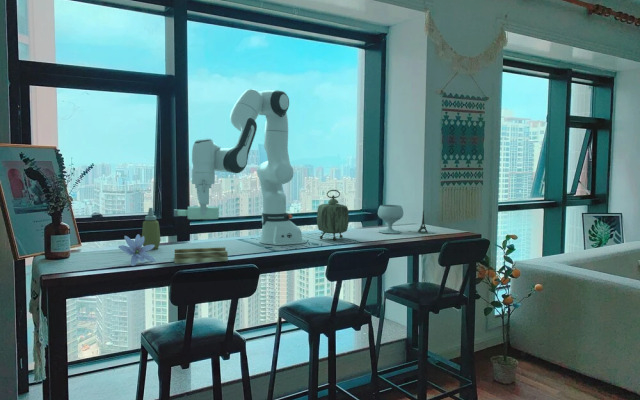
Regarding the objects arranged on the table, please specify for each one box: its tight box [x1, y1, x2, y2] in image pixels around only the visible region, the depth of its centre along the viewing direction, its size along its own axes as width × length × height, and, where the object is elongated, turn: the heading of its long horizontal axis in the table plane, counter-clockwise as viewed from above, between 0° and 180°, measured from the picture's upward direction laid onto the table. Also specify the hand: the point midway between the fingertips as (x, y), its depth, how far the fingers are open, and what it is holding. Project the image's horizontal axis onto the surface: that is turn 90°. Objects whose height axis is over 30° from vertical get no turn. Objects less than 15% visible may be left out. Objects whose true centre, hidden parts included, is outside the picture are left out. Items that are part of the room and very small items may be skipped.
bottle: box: [173, 206, 220, 220], centre depth 194 cm, size 17×5×5 cm, turn 106°
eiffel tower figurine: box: [408, 209, 435, 235], centre depth 271 cm, size 15×10×13 cm
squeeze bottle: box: [141, 207, 162, 250], centre depth 214 cm, size 8×8×18 cm
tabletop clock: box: [316, 189, 350, 241], centre depth 242 cm, size 14×9×25 cm, turn 108°
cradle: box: [174, 246, 229, 264], centre depth 193 cm, size 20×12×4 cm, turn 106°
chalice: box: [377, 204, 404, 235], centre depth 268 cm, size 14×14×15 cm
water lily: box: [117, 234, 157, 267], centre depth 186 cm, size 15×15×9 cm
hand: (203, 214), depth 195 cm, fingers closed on bottle, 5 cm apart
